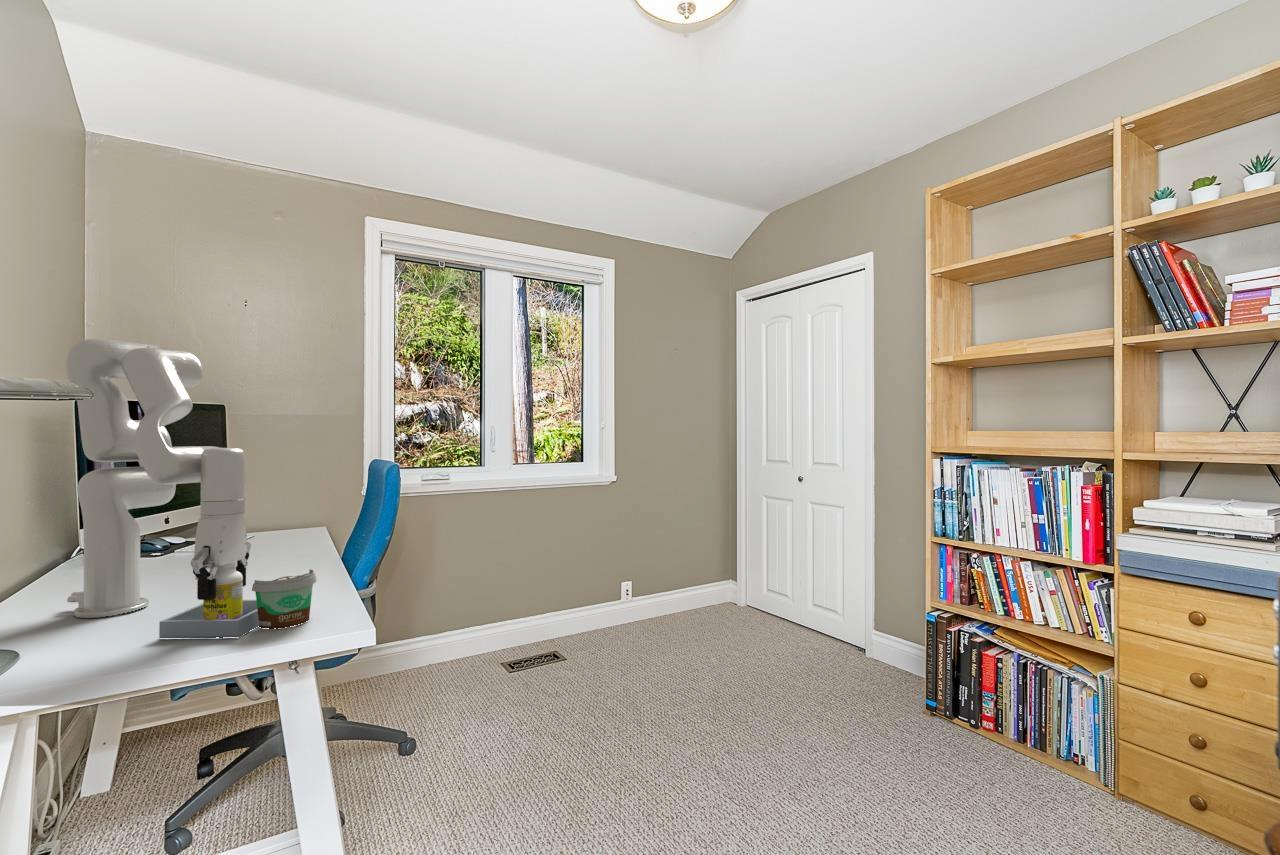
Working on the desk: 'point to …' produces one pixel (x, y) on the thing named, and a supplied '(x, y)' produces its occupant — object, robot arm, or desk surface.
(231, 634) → the tray
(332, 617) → the desk surface
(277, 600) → the food container
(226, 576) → the supplement bottle
